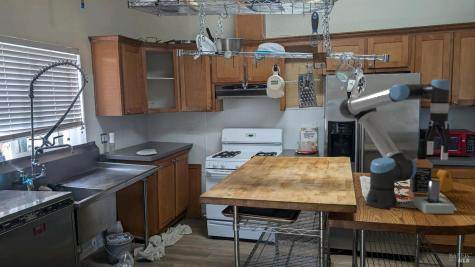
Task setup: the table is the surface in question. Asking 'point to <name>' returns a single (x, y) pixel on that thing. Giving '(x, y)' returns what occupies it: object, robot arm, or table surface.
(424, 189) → the whiskey bottle
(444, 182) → the bracket
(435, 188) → the dark gray tapered cylinder
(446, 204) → the block
